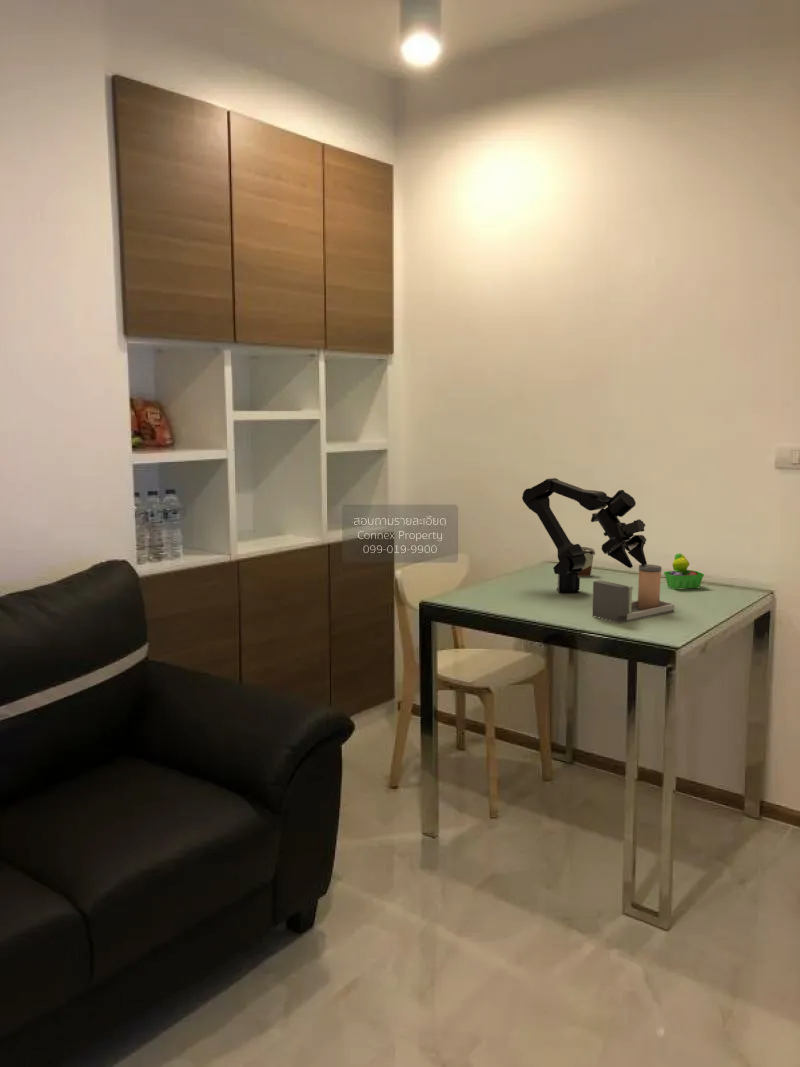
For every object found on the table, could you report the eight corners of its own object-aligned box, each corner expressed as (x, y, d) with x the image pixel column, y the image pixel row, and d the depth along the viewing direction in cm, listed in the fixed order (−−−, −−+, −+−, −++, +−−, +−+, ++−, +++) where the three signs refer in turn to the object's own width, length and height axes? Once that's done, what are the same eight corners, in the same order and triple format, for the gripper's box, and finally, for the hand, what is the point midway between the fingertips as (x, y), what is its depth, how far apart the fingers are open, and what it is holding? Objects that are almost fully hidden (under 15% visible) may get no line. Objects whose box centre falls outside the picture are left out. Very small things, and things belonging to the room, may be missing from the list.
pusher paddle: (628, 616, 253) (629, 587, 251) (608, 611, 259) (609, 583, 258) (631, 616, 254) (632, 586, 252) (611, 611, 260) (612, 582, 258)
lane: (619, 623, 249) (621, 587, 247) (592, 616, 257) (593, 581, 256) (673, 611, 262) (675, 577, 261) (646, 604, 271) (647, 571, 269)
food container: (592, 573, 321) (593, 546, 319) (594, 576, 315) (595, 549, 313) (558, 572, 322) (559, 546, 320) (560, 576, 316) (560, 549, 314)
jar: (634, 609, 263) (636, 567, 261) (640, 605, 268) (642, 563, 266) (656, 612, 259) (658, 569, 257) (661, 607, 265) (663, 565, 263)
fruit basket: (672, 590, 291) (674, 557, 289) (660, 585, 299) (662, 553, 298) (704, 589, 292) (706, 556, 291) (691, 583, 301) (693, 551, 299)
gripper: (615, 511, 263) (643, 553, 258) (644, 509, 277) (672, 550, 271) (589, 532, 270) (616, 574, 264) (619, 530, 283) (645, 569, 278)
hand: (638, 566), depth 269 cm, fingers open, 9 cm apart
